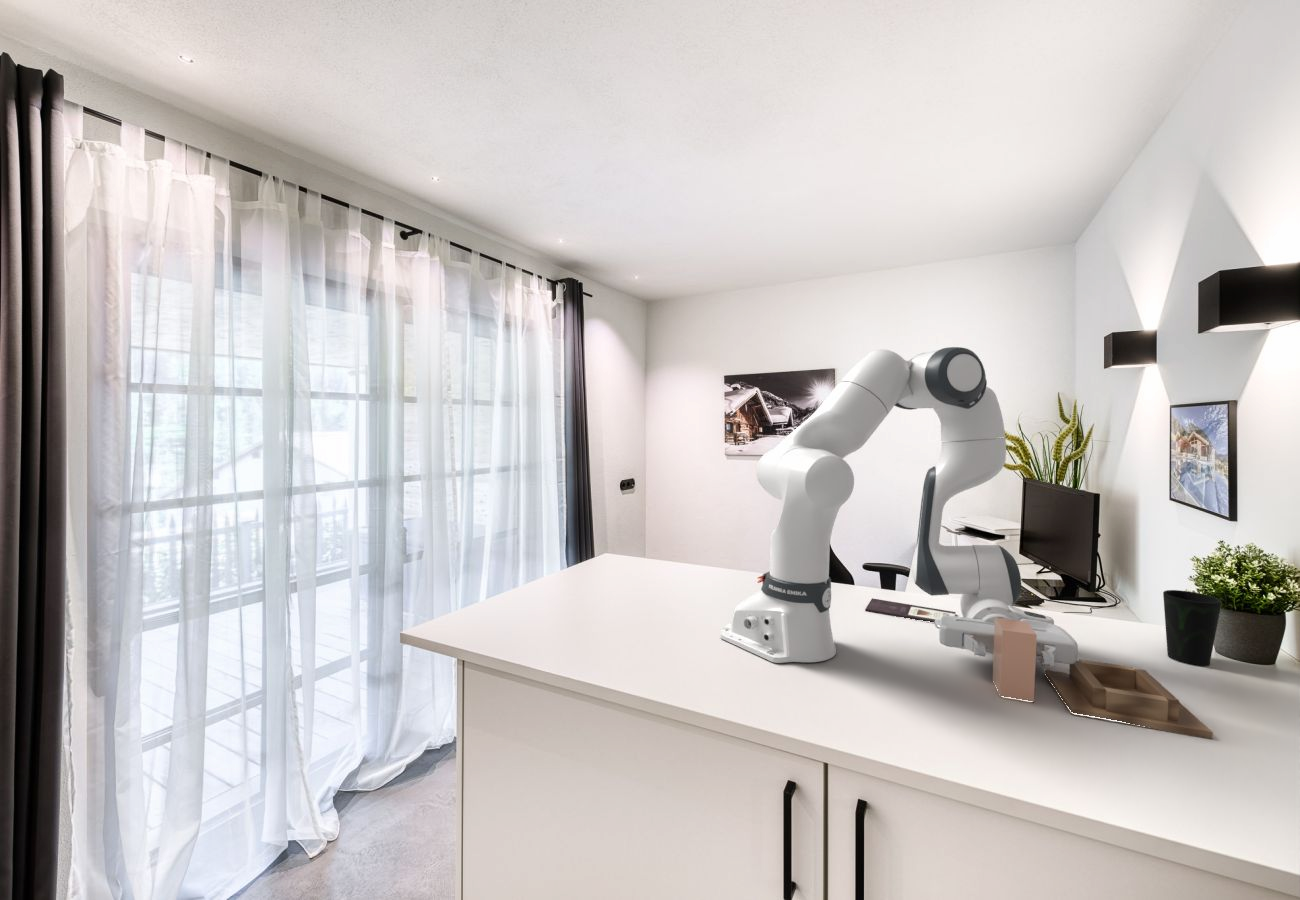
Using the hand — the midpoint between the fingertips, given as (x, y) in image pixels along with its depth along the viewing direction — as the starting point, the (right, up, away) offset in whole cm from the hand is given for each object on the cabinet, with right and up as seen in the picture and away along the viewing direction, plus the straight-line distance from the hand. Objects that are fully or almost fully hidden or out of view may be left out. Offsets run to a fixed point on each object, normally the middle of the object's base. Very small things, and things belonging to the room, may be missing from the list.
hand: (1013, 656), depth 88 cm
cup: (+41, -6, +13) cm, 44 cm away
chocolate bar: (+1, -5, +37) cm, 38 cm away
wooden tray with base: (+14, -6, -3) cm, 16 cm away
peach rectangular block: (0, -6, +1) cm, 6 cm away
